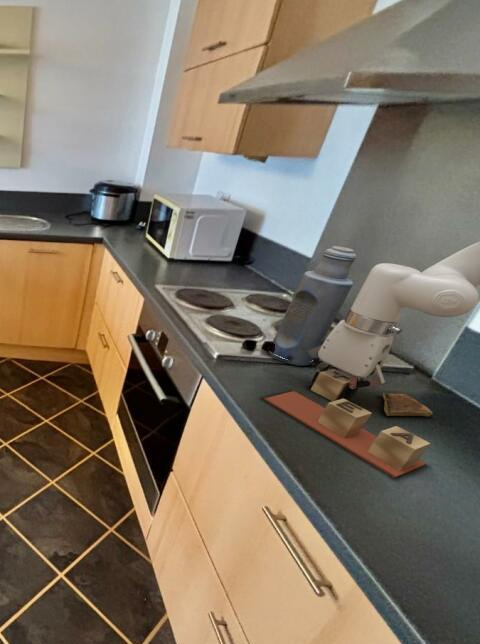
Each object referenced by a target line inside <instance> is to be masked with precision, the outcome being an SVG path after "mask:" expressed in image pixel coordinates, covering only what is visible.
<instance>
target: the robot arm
mask: <svg viewBox="0 0 480 644" xmlns="http://www.w3.org/2000/svg"><path fill="white" fill-rule="evenodd" d="M478 286H480V241H478V242H475V243H473V244H471V245H469V246H467V247H465V248H463V249H460V250H459V251H457V252H455V253H453V254H451V255H449V256H447V257H446V258H444V259H442V260H440V261H439V262H437V263H434V264H433V265H431V266H430V267H428V268H425V270H423V271H422V272H421V271H420V270H418V269H417V268H414V267H411V266H406V265H402V264H398V263H391V262H389V263H387V262H382V263H377V264H376V265H374V266H372V268H371V270H370V271H369V273H368V275H367V277H366V279H365V281H364V282H363V284H362V286H361V288H360V290H359V292H358V294H357V296H356V298H355V300H354V302H353V303H352V306H351V307H350V309H349V310H348V313H347V315H346V317H345V318H344V319H341V320H340V321H339V322H338V323H337V324H336V325H335V326H334V328H332V330H331V331H330V333H329V334H327V337H325V339H324V340H323V342H322V344H321V345H320V346H319V347H316V348H313V349H311V350H309V351H308V353H309V354H310V356H311V358H312V359H313V361H312V363H313V365H314V367H315V368H314V371H315V374H314V375H313V378H312V379H311V385H310V387H311V388H312V386H313V385H314V383H315V381H316V379H317V377H318V375H319V373H320V372H323V371H327V370H330V369H331V368H332V367H335V368H336V369H338V370H341V371H343V372H345V373H347V374H350V375H349V377H350V383H349V385H348V386H345V388H344V389H343V391H342V393H341V394H340V396H339V398H338V400H340V399H346V400H347V401H351V400H352V399H353V398H354V396H355V394H356V393H357V391H358V389H360V388H367V387H376V386H381V385H385V384H386V381H385V378H384V375H383V372H382V368H383V366H384V364H385V362H386V359H387V358H388V355H389V353H390V351H391V347H392V345H393V342H394V337H395V336H394V335H393V334H396V335H399V334H400V333H402V331H403V328H402V327H399V325H398V323H399V322H398V321H399V319H400V317H401V315H402V314H403V312H404V310H405V308H409V309H412V310H416V311H418V312H421V313H424V314H426V315H429V316H432V317H433V316H434V317H437V318H455V317H460V316H462V315H465V314H467V313H469V312H471V311H472V310H473V309H474V308H475V307H476V305H477V303H478V302H479V293H478V290H477V289H476V287H478ZM368 376H371V377H372V379H366V380H365V378H368Z"/></svg>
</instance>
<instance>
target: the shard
mask: <svg viewBox="0 0 480 644" xmlns="http://www.w3.org/2000/svg"><path fill="white" fill-rule="evenodd" d="M382 399H383V400H384V404H383V405H384V406H383V411H384V413H385V415H386V416H387V417H390V416H391V417H392V416H393V417H395V416H399V417H401V416H403V417H405V416H406V417H407V416H411V417H416V416H418V417H419V416H420V417H426V418H429V417H430V416H432V415H433V412H432V411H431V410H430V408H429V407H427V406H426V405H424V404H423V403H421V402H419V401H418V400H416V399H414V398H413V397H412V396H409V395H408V394H405V393H388V392H382Z"/></svg>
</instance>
